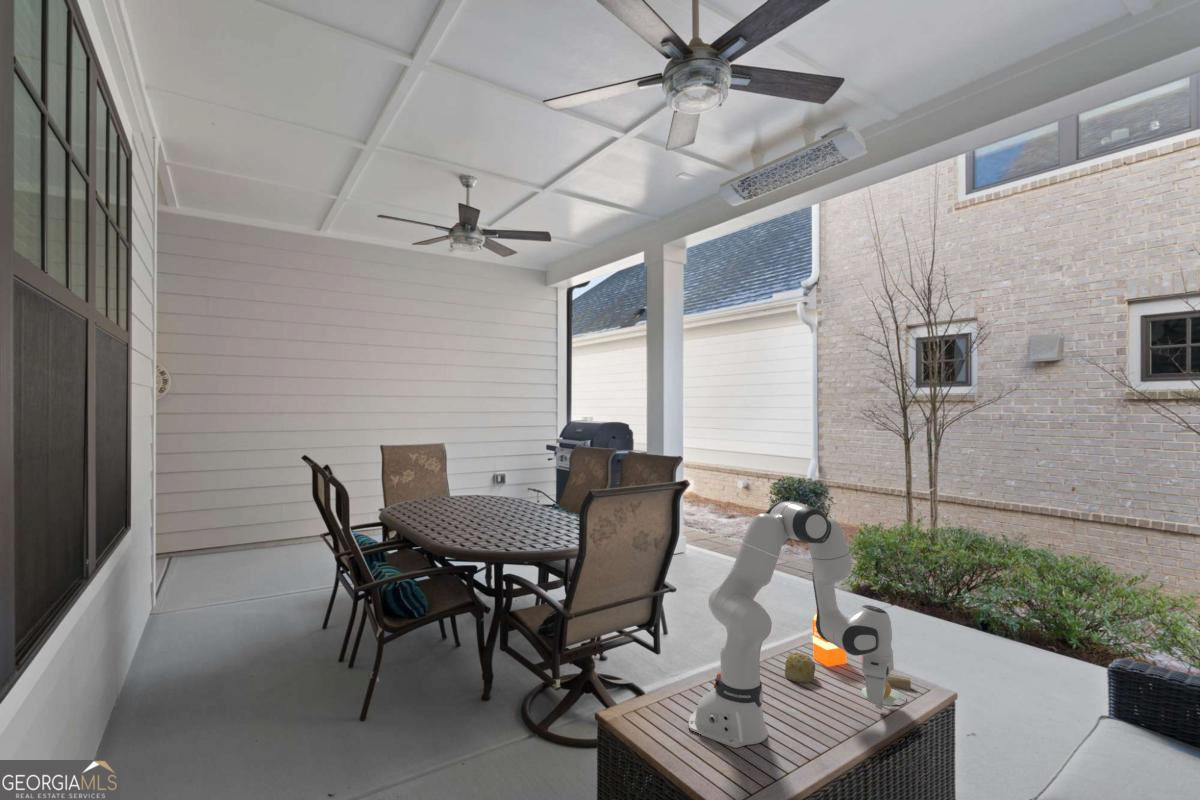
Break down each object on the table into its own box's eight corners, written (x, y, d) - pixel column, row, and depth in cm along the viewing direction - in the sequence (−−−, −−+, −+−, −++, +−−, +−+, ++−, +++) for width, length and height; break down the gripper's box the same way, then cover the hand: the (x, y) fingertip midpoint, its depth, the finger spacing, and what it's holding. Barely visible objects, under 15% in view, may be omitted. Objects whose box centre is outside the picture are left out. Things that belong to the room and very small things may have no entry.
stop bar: (910, 689, 177) (910, 680, 178) (863, 679, 185) (863, 670, 185) (910, 687, 179) (910, 678, 179) (864, 677, 187) (864, 668, 187)
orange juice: (813, 658, 203) (811, 604, 204) (832, 655, 206) (830, 602, 207) (827, 666, 196) (825, 611, 197) (847, 663, 198) (844, 608, 200)
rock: (800, 680, 193) (785, 652, 197) (825, 672, 186) (809, 644, 190) (788, 692, 186) (772, 663, 190) (814, 684, 180) (798, 655, 183)
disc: (860, 700, 171) (860, 699, 171) (862, 683, 182) (862, 682, 183) (907, 709, 165) (907, 708, 165) (906, 691, 176) (906, 690, 176)
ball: (874, 698, 174) (874, 690, 172) (873, 683, 178) (873, 675, 175) (892, 701, 172) (891, 693, 169) (890, 685, 176) (890, 677, 173)
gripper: (870, 646, 175) (872, 690, 174) (861, 670, 158) (863, 718, 157) (892, 650, 172) (894, 695, 171) (885, 675, 155) (887, 724, 154)
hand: (879, 706), depth 164 cm, fingers closed
